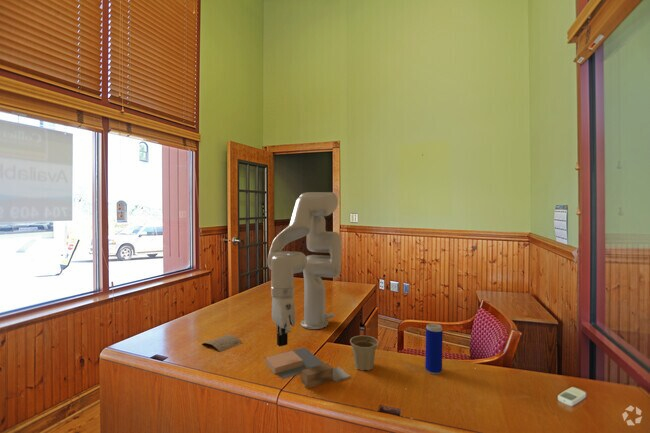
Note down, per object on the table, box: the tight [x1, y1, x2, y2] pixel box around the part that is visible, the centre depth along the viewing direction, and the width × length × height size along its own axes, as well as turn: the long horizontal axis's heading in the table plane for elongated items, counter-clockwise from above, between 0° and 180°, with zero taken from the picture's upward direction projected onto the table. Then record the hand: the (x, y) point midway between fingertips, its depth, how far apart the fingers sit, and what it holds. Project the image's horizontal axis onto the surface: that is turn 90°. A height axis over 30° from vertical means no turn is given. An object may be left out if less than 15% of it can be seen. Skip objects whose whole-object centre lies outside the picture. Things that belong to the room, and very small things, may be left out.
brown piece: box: [301, 362, 351, 389], centre depth 98 cm, size 14×6×4 cm, turn 121°
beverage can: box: [424, 322, 444, 375], centre depth 103 cm, size 5×5×15 cm
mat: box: [264, 347, 325, 380], centre depth 108 cm, size 16×16×1 cm
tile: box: [265, 350, 303, 375], centre depth 105 cm, size 10×2×8 cm
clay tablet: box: [202, 333, 244, 353], centre depth 121 cm, size 14×10×3 cm
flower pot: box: [349, 335, 379, 371], centre depth 105 cm, size 9×9×9 cm
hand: (282, 344), depth 107 cm, fingers closed
